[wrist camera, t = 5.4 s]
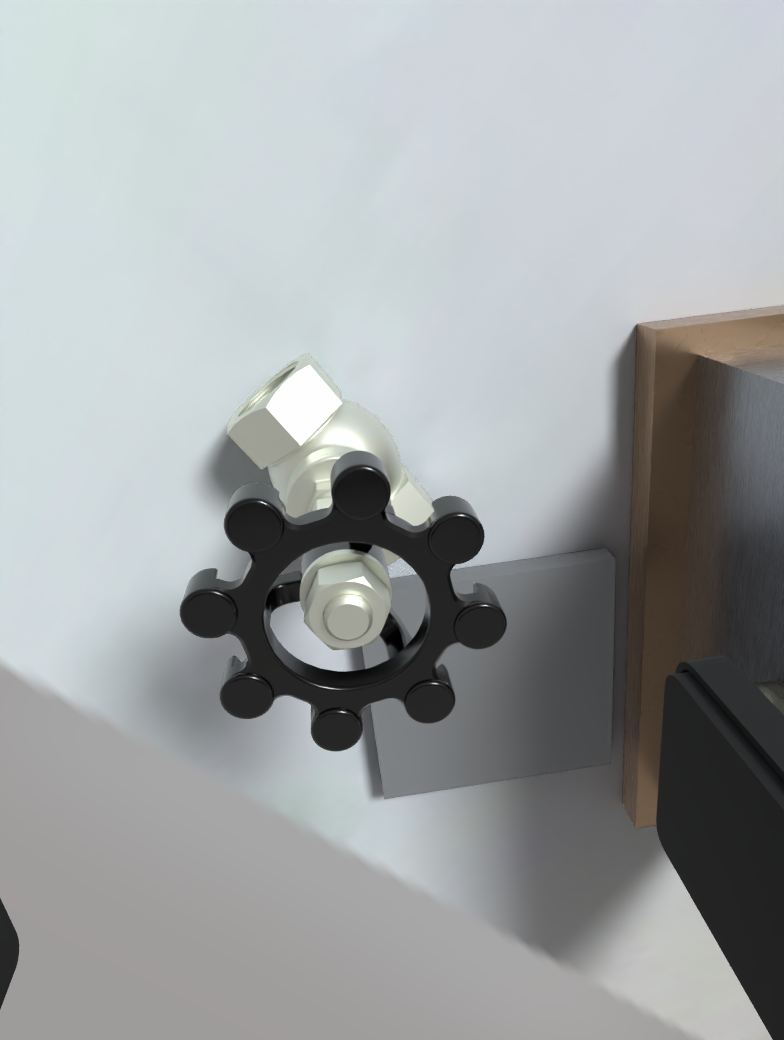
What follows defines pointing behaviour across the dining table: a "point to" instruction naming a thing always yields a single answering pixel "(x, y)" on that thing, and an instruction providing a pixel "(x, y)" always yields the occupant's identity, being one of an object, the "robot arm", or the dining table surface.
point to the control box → (703, 519)
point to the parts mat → (510, 679)
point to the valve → (337, 562)
